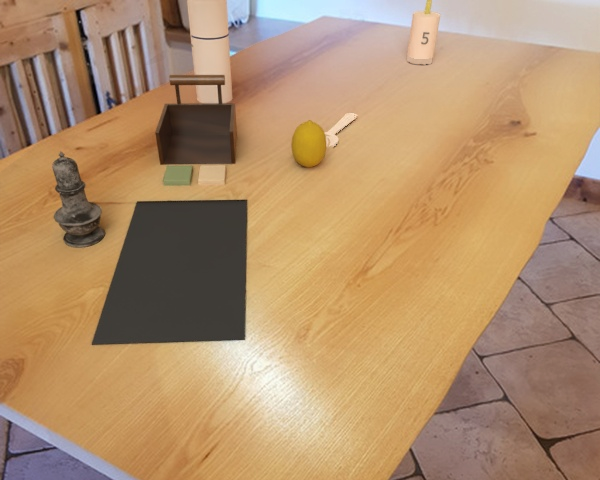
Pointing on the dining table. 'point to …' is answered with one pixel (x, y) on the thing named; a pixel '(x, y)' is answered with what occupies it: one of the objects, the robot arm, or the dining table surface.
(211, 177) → the block
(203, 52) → the cylindrical container
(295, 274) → the dining table surface
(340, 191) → the dining table surface
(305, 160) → the lemon
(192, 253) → the mat
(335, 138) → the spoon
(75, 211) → the salt shaker
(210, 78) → the basket
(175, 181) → the block
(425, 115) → the dining table surface
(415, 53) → the candle
